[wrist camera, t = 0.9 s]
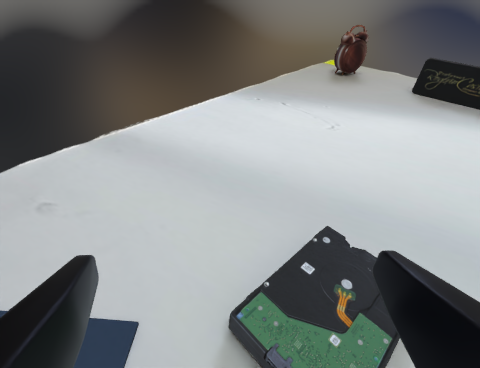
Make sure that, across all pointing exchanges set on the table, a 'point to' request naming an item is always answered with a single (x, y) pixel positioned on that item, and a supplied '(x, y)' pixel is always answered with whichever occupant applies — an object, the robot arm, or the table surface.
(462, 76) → the nameplate
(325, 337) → the disk drive
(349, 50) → the alarm clock
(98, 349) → the mat
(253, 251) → the table surface
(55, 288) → the robot arm
